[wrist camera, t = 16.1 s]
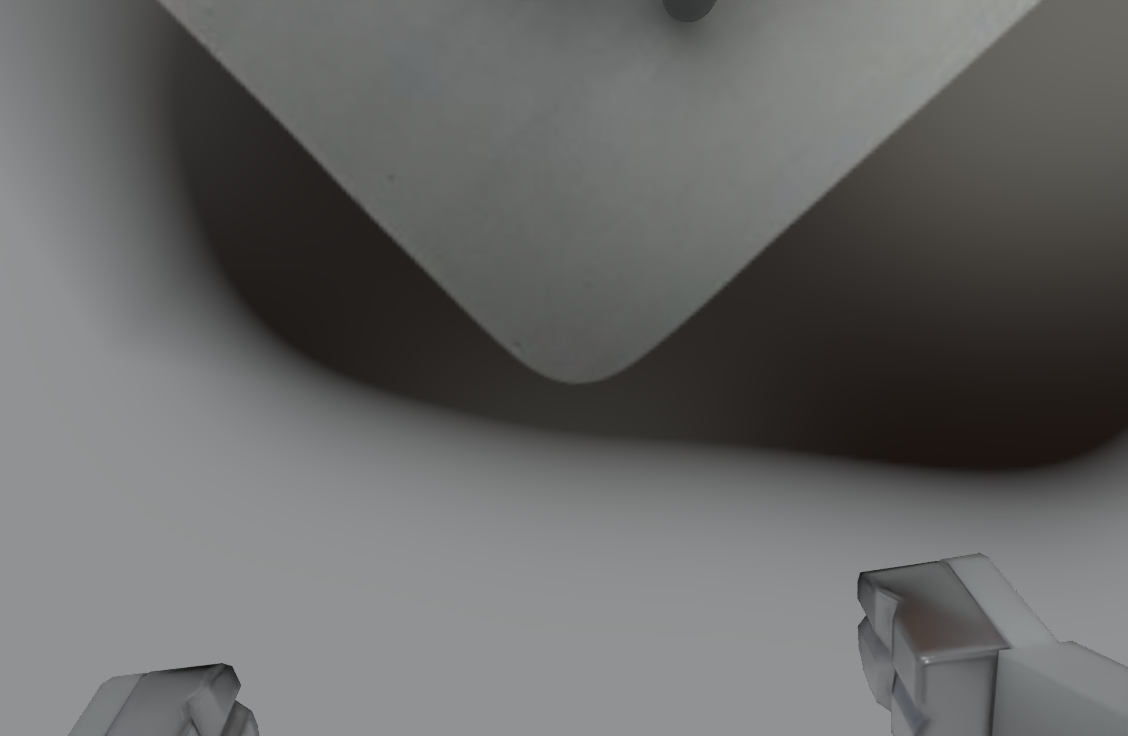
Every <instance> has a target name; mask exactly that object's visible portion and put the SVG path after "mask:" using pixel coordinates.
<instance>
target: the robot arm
mask: <svg viewBox="0 0 1128 736" xmlns="http://www.w3.org/2000/svg"><path fill="white" fill-rule="evenodd" d="M858 600H859V602H860V603H861V606H862V608H863V609H864V611H865V613H866V616H865V617H864V619H863V620H862V622H861V623H860V624H859V625H858V640H859V650H860V655H861V660H862V665H863V670H864V673H865V676H866V678H867V681H868V684H869V687H870V689H871V691H872V693H873V695H874V697H875V699H876V702H877V703H878V704H880V705H882V706H883V707H885V708H886V709H888V710H889V711H891V732H892V734H893V736H1128V667H1126V666H1124V665H1122V664H1120V663H1118V662H1116V661H1114V660H1112V659H1110V658H1107V657H1105V656H1103V655H1101V654H1099V653H1097V652H1095V651H1093V650H1090V649H1088V648H1086V647H1084V646H1082V645H1080V644H1078V643H1076V642H1073V641H1067V642H1059V641H1058V640H1057V639H1056V638H1055V637H1054V635H1053V634H1052V633H1051V632H1050V630H1049V629H1048V628H1047V627H1046V626H1045V624H1044V623H1043V622H1042V621H1041V620H1040V619H1039V617H1038V616H1037V615H1036V614H1035V613H1034V612H1033V610H1032V609H1031V608H1030V607H1029V606H1028V604H1027V603H1026V602H1025V601H1024V599H1023V598H1022V597H1021V596H1020V595H1019V594H1018V592H1017V591H1016V590H1015V589H1014V587H1013V586H1012V585H1011V584H1010V583H1009V582H1008V580H1007V579H1006V578H1005V577H1004V576H1003V574H1002V573H1001V572H1000V571H999V569H998V568H997V567H996V566H995V565H994V563H993V562H992V561H991V560H990V559H989V557H987V556H985V555H983V554H981V553H978V554H972V555H966V556H960V557H954V558H947V559H941V560H940V561H934V562H927V563H921V564H914V565H907V566H901V567H894V568H888V569H880V570H874V571H867V572H861V573H860V575H859V579H858ZM240 687H241V684H240V682H239V680H238V678H237V676H236V674H235V672H234V669H233V667H232V666H229V665H226V664H223V663H221V664H212V665H204V666H195V667H187V668H179V669H170V670H162V671H154V672H149V673H142V674H134V675H125V676H117V677H113V678H111V679H109V680H108V681H106V682H104V683H103V684H102V685H101V686H100V687H99V689H98V690H97V692H96V694H95V695H94V697H93V698H92V700H91V701H90V703H89V704H88V706H87V707H86V709H85V710H84V712H83V713H82V715H81V716H80V718H79V720H78V721H77V723H76V724H75V726H74V727H73V729H72V730H71V732H70V733H69V735H68V736H259V731H258V726H257V723H256V720H255V718H254V715H253V713H252V711H251V710H250V709H248V708H247V707H245V706H243V705H242V704H240V703H239V702H238V701H236V700H235V699H236V696H237V694H238V692H239V689H240Z"/></svg>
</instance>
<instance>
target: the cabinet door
mask: <svg viewBox="0 0 1128 736" xmlns="http://www.w3.org/2000/svg"><path fill="white" fill-rule="evenodd" d="M662 1H663V5H664V7H665V9H666V10H667V12H668V13H669V14H670V15H671V16H672V17H673V18H675V19H677V20H679V21H683V22H693V21H696V20H699V19H701V18H703V17H704V16H705V15H706V14H707V13H708V12H709V11H710V10H711V8H712V7H713V5H714V4H715V2H716V1H717V0H662Z"/></svg>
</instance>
